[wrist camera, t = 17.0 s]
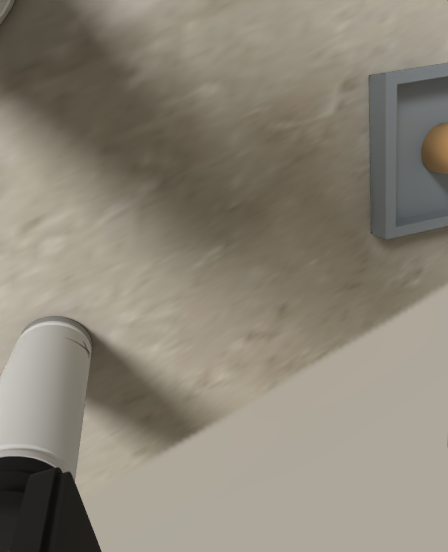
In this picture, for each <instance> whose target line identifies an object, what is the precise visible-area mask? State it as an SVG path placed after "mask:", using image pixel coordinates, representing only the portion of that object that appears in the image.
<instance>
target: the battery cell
mask: <svg viewBox="0 0 448 552" xmlns="http://www.w3.org/2000/svg"><path fill="white" fill-rule="evenodd" d="M421 156H422V161H423V164H424V165H425V167H426V168H427V169H428V170H430V171H432V172H436V173H442V174H448V123H441V124H439V125H437V126H435V127H434V128H433V129H432V130H431V131H430V132H429V133H428V134H427V136H426V138H425V140H424V142H423V145H422V150H421Z"/></svg>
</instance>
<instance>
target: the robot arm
mask: <svg viewBox="0 0 448 552" xmlns="http://www.w3.org/2000/svg"><path fill="white" fill-rule="evenodd" d="M14 1H15V0H0V24H1V23H2V22H3V20H4V19H5V17H6V16H7V14H8V13H9V11H10V10H11V8H12V6H13V4H14ZM8 552H101V549H100V546H99V544H98V541H97V539H96V536H95V533H94V531H93V528H92V526H91V523H90V520H89V518H88V515H87V513H86V510H85V507H84V505H83V502H82V500H81V497H80V494H79V492H78V489H77V487H76V484H75V481H74V479H73V476H72V474H71V472H70V471H68V472H64V473H63V472H62V470H61V469H60V468H59V467H56V468H52V469H49V470H45V471H42V472H38V473H34V474H31V475H30V476H29V479H28V481H27V485H26V489H25V493H24V497H23V500H22V504H21V508H20V512H19V516H18V520H17V523H16V527H15V531H14V535H13V539H12V543H11V546H10V550H9V551H8Z"/></svg>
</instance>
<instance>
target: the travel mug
mask: <svg viewBox="0 0 448 552" xmlns="http://www.w3.org/2000/svg"><path fill="white" fill-rule="evenodd" d="M91 354H92V341H91V339H90V336H89V334H88V333H87V331H86V330H85V329H84V328H83V327H82V326H81V325H80V324H78V323H77V322H75V321H73V320H71V319H69V318H65V317H58V316H51V317H45V318H41V319H38V320H36V321H34V322H32V323H31V324H29V325H28V326H27V327H26V328H25V329H24V330H23V331H22V333H21V335H20V337H19V339H18V341H17V343H16V345H15V347H14V349H13V352H12V354H11V356H10V358H9V360H8V362H7V364H6V367H5V369H4V371H3V373H2V375H1V377H0V552H8V551H9V550H10V546H11V543H12V539H13V535H14V531H15V527H16V523H17V520H18V516H19V512H20V508H21V504H22V500H23V497H24V493H25V489H26V485H27V481H28V479H29V476H30V475H31V474H34V473H38V472H42V471H45V470H49V469H52V468H56V467H59V468H60V469H61V470H62V472H63V473H64V472H68V471H70V472H71V474H72V476H73V479H74V481H75V476H76V469H77V461H78V453H79V446H80V438H81V430H82V423H83V415H84V407H85V400H86V392H87V384H88V377H89V369H90V361H91Z"/></svg>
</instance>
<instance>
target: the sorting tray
mask: <svg viewBox="0 0 448 552" xmlns="http://www.w3.org/2000/svg"><path fill="white" fill-rule="evenodd" d="M369 123H370V197H371V233H372V234H374V235H376V236H378V237H380V238H383V239H385V240H388V239H392V238H396V237H401V236H405V235H410V234H414V233H419V232H423V231H428V230H432V229H437V228H441V227H446V226H448V174H442V173H436V172H432V171H430V170H428V169H427V168H426V167H425V165H424V164H423V161H422V156H421V150H422V145H423V142H424V140H425V138H426V136H427V134H428V133H429V132H430V131H431V130H432V129H433V128H434V127H435V126H437V125H439V124H441V123H448V63H443V64H436V65H430V66H424V67H417V68H411V69H405V70H398V71H392V72H386V73H380V74H374V75H369Z"/></svg>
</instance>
